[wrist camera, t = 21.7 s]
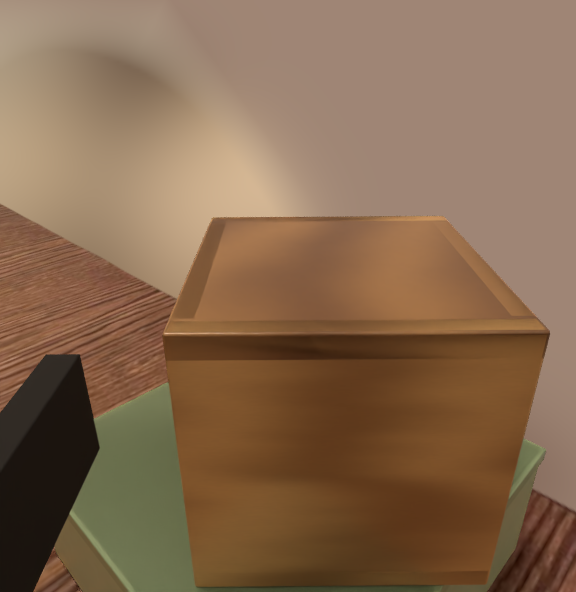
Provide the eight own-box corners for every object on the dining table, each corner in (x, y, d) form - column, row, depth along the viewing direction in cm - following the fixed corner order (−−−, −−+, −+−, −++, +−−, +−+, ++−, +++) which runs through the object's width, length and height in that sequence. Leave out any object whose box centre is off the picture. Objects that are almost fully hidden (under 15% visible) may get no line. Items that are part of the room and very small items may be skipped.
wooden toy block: (418, 402, 24) (443, 215, 20) (487, 586, 16) (552, 331, 12) (225, 404, 24) (211, 216, 20) (194, 588, 16) (161, 334, 12)
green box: (518, 548, 24) (546, 448, 21) (287, 899, 14) (286, 795, 11) (285, 404, 33) (284, 323, 31) (52, 553, 24) (22, 453, 21)
